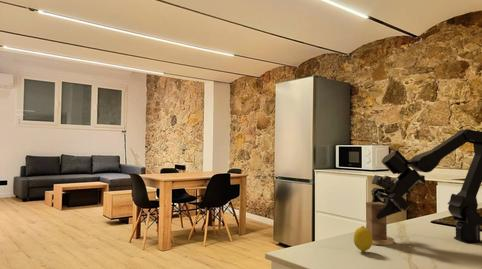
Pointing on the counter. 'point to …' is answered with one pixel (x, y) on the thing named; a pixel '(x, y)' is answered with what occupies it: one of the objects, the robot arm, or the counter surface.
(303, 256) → the counter surface
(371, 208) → the walnut block
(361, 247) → the lemon
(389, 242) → the cork trivet
